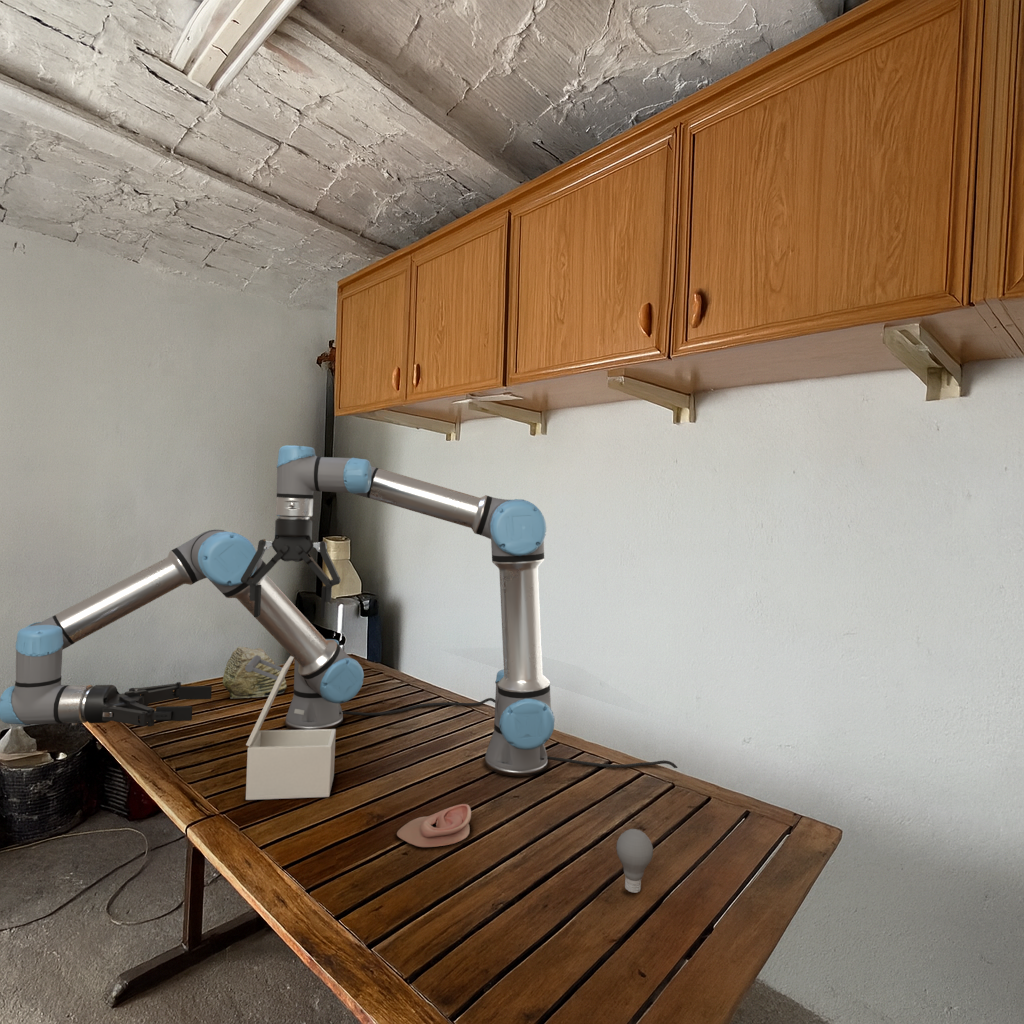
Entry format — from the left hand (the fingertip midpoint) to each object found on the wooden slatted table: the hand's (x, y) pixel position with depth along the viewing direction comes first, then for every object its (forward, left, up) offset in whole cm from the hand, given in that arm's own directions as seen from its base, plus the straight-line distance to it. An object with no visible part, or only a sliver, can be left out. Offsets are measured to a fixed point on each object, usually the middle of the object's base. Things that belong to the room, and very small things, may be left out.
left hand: (202, 702), depth 134 cm
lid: (-11, +9, 0) cm, 14 cm away
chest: (-14, +12, -19) cm, 27 cm away
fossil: (-41, -51, -19) cm, 68 cm away
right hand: (-13, +11, +18) cm, 25 cm away
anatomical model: (-22, +48, -19) cm, 56 cm away
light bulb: (-32, +85, -19) cm, 93 cm away
